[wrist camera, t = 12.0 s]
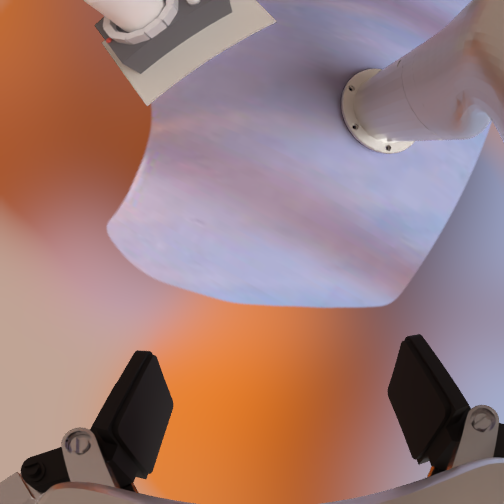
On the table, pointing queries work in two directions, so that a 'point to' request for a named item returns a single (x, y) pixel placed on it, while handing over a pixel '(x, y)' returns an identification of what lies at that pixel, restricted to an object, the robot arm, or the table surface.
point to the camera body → (162, 31)
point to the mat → (196, 49)
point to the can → (129, 12)
